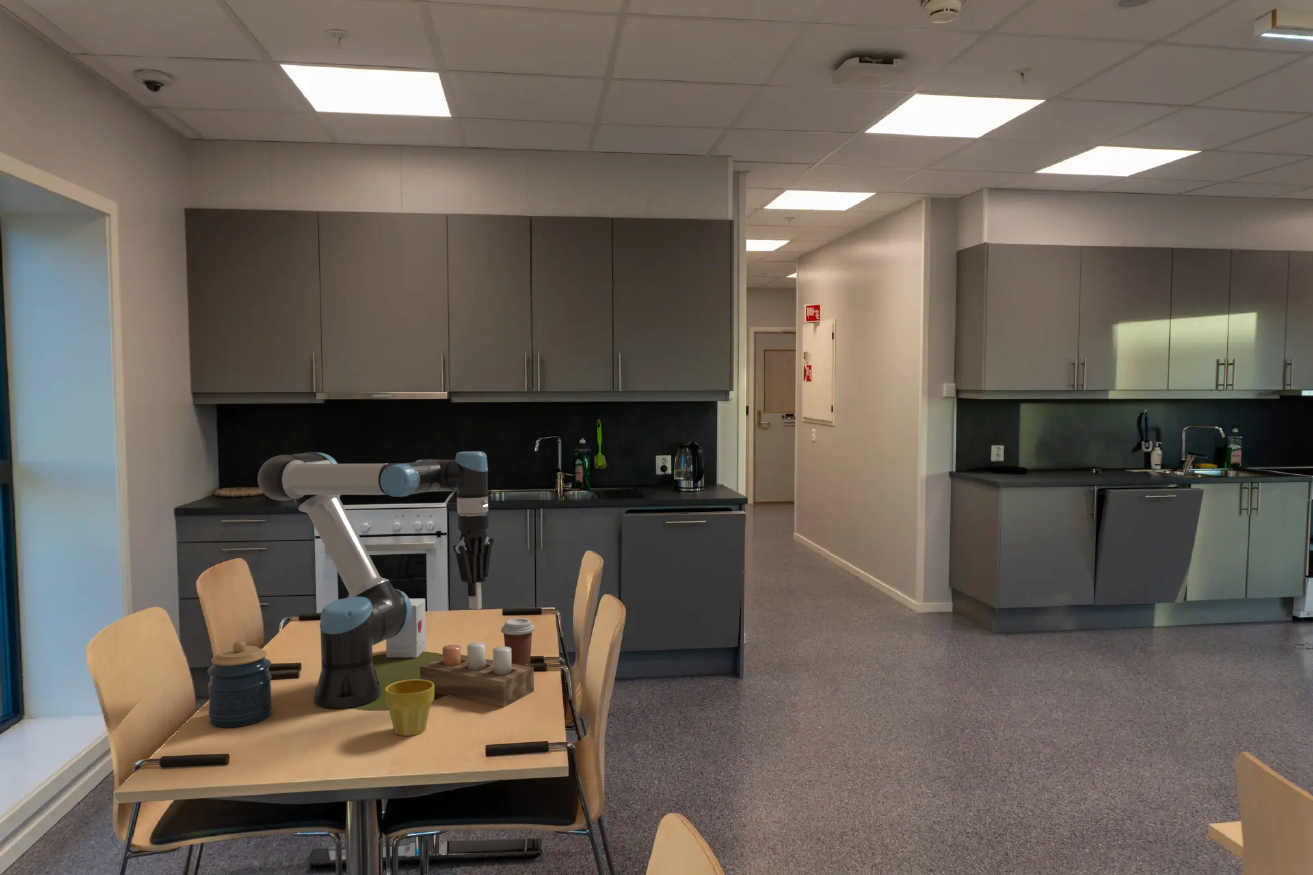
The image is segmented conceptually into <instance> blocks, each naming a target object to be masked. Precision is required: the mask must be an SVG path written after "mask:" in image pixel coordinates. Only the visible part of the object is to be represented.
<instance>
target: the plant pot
mask: <svg viewBox="0 0 1313 875" xmlns="http://www.w3.org/2000/svg"><path fill="white" fill-rule="evenodd" d="M434 699H435V693H434V684H433V682H431V681H428V680H422V679H420V678H415V679H414V678H411V679H404V680H399V681H396V682H392V683H390V684H387V686H386V687H385V688H384V703H385V706H386V707H388V710H389V715H390V718H391V719H390V720H391V723H392V728H393V731H394V733H395V734H396V735H398V736H403V737H410V736H411V737H412V736H416V735H419V734H421V733H423V732H425V730H426V729H427V724H428V719H429V714H430V710H431V705H432V704H433V701H434Z"/></svg>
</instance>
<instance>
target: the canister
mask: <svg viewBox="0 0 1313 875" xmlns="http://www.w3.org/2000/svg"><path fill="white" fill-rule="evenodd" d="M267 654H268V653H267V651H266V650H264V649H262V648H260V647H258V646H254V645H246V643H245V642H244V641H241V640H238V641H235V642H234V643H233V645H232V647H230V648H227V649H224V650H221V651H220V652H218V654H217V655H214V657H212V658H211V663H212V664H213V665H211V666H210V667H209V668H208V669H207V671H206V672H207V675H209V676H210V678H209V679H210V680H209V682H208V685H207V688H208V700H209V701H208V703H209V704H208V706H209V709H208V719H209V722H210V725H212V726H214V727H217V728H238V727H243V726H248V725H251V724H252V725H253V724H256V723H258V722H261V721H263V720H266V719H267V718H268V717H269V716H271V713H272V709H273V701H272V684H271V683H272V674H270V670H269V668H270V667H271V665H272V661H271V660H270V659H268V658H266V657H267Z"/></svg>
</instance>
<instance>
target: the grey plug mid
mask: <svg viewBox="0 0 1313 875" xmlns="http://www.w3.org/2000/svg"><path fill="white" fill-rule="evenodd" d="M466 648H467V649H466V651H467V653H466V655H467V659H468V670H472V671H481V670H483V669H485V668H486V659H487V657H486V652H487V651H486V643H484V642H480V641H479V642H476V641H475V642H471V643H468V644H467V646H466Z"/></svg>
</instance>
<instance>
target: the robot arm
mask: <svg viewBox="0 0 1313 875" xmlns="http://www.w3.org/2000/svg"><path fill="white" fill-rule="evenodd" d="M487 458H488V456H487V454H486V453H485V452H483V451H480V450H479V451H459V452H456V454H455V459H433V458H427V459H418V460H415V462H404V463H402V462H401V463H399V462H397V463H396V462H395V463H391V462H390V463H338V462H337V461H336V459H335V458H334V457H332V456H331V455H329V454H326V453H325V452H324V453H323V452H313V451H310V452H309V451H307V452H304V453H295V454H280V455H276V456H273V457H271V458H269V459H267V460H266V461H265V462H264V463H263V464H262V466H260V468H259V471H258V473H257V483H258V487H259V489H260V491H261V492H262V494H263V495H265V496H267V497H268V498H269V499H272V500H275V501H281V502H282V501H292V500H293V502H294V503H295V505H296V508H298V510H299V511H300V512H303V513H306V514H308V517H309V518H310V520H311V522H312V524H313V526H314V528H315V530H316V532H317V533H318V536H319V538H320V540H321V542H322V544H323V546H324V547H325V549H326V551H327V554H328V555H329V557H330V559H331V560H332V563H333V565H334V566H335V568H336V570H337V572H338V575H339V576H340V579H341V580H342V582H343V584H344V586H345V588H346V590H347V592H348V596H347V597H344V598H340V599H337V600H334V601H331V602H329V603H327V604H325V606H324V607H323V608H322V610H321V612H320V621H319V629H320V649H321V650H320V651H321V652H320V655H321V656H320V657H321V660H320V661H321V671H320V674H319V677H318V682H317V685H316V688H315V689H314V693H313V694H314V698H313V699H314V704H315V705H316V706H318V707H320V708H325V709H347V708H355V707H358V706H363V705H366V704H369V703H372V702H373V701H375V700H377V699H378V698H379V697H380V696H381V694H382V693H381V683H380V680H379V678H378V675H377V671H376V669H375V666H374V662H373V646H375V645H377V644H379V643H381V642H383V641H386V639H388V638H392V637H394V636H395V635H397V634H398V633H400V632H402V631H403V630H404V629H405V628H406V627H407V626H408V624H409V622H410V618H411V616H412V606H411V602H410V600H409V599H410V597H409V596H408V595H407V594H406V593H405V592H404V591H401V590H400V589H397V588H394V587H393V585H392V584H391V581H390V580H389V579H387V578H385V577H384V578H383V577H382V576H381V575H380V574H379V571H378V569H377V568H376V566H375V564H374V562H373V560H372V559H371V558H372V557H371V556H370V555H369V552H368V550H367V549H366V546H365V545H364V542H363V541H362V539H361V537H360V535H359V533H358V532H357V530H356V528H355V525H354V523H353V522H352V520H351V518H350V516H349V514H348V512H347V510H346V508H345V507H344V504H343V502H342V501H341V499H340V497H341V496H342V495H343V496H344V495H345V496H346V495H350V496H351V495H352V496H353V495H354V496H358V495H360V496H362V495H364V496H367V495H368V496H369V495H370V496H371V495H373V496H381V495H385V496H390V497H393V498H397V497H398V498H399V497H400V498H402V497H408V496H410V495H416V494H422V493H427V492H433V491H439V490H440V491H443V490H446V491H447V490H448V491H450V490H452V491H456V508H457V509H456V510H457V511H456V512H457V514H459V515H458V516H457V529H458V530H459V531H460V537H459V542H458V544H454V545H453V547H452V549H453V551H454V553H455V555H456V560H457V565H458V571H459V577H460V581H461V582H462V583H466V584H467V596H468V604H469V607H468V608H469V609H471V610H480V609H483V607H482V605H483V603H482V602H483V600H482V594H483V582H484V583H485V582H486V581H487V579H486V578H488V576H489V568H490V561H491V556H492V555H491V552H492V547H493V544H494V541H495V540H494V538H491V537H488V533H487V530H488V529H489V528H490V522H489V517H490V516H489V514H488V512H489V492H488V489H489V487H488V484H489V483H488V481H489V480H488V478H489V477H488V471H489V468H488V459H487Z"/></svg>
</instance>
